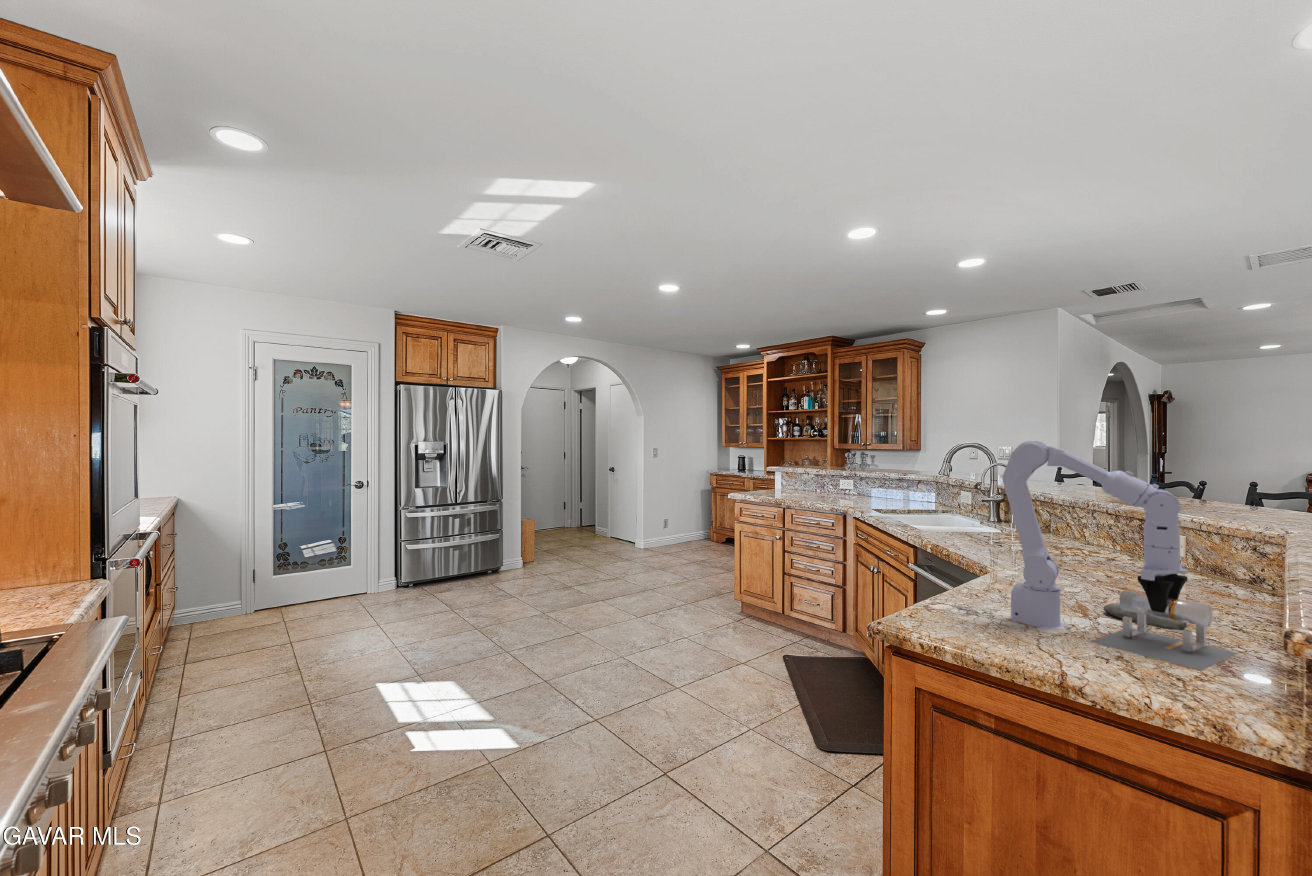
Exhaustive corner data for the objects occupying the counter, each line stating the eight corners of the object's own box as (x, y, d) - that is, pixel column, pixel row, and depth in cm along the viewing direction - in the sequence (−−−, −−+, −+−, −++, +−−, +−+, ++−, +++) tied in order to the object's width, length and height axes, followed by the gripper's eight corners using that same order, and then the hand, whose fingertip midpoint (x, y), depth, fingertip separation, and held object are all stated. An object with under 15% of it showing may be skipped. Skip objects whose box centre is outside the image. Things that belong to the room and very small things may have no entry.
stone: (1098, 618, 137) (1181, 642, 126) (1101, 603, 136) (1184, 626, 125) (1107, 605, 144) (1186, 627, 133) (1109, 590, 143) (1189, 611, 132)
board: (1089, 644, 120) (1089, 641, 120) (1129, 630, 128) (1129, 627, 128) (1201, 673, 104) (1201, 670, 104) (1237, 656, 112) (1237, 653, 112)
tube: (1119, 610, 124) (1119, 590, 124) (1128, 609, 126) (1128, 589, 126) (1203, 628, 111) (1203, 605, 112) (1212, 626, 113) (1212, 604, 114)
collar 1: (1123, 637, 122) (1122, 617, 122) (1139, 631, 126) (1139, 611, 126) (1129, 639, 121) (1129, 618, 121) (1146, 633, 125) (1146, 613, 125)
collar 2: (1182, 652, 113) (1182, 630, 113) (1198, 645, 117) (1198, 623, 117) (1190, 654, 112) (1189, 631, 112) (1206, 647, 116) (1206, 625, 116)
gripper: (1170, 552, 112) (1172, 620, 112) (1200, 546, 119) (1202, 609, 119) (1128, 547, 118) (1129, 611, 118) (1158, 541, 125) (1160, 601, 125)
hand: (1163, 609), depth 119 cm, fingers closed on tube, 4 cm apart
